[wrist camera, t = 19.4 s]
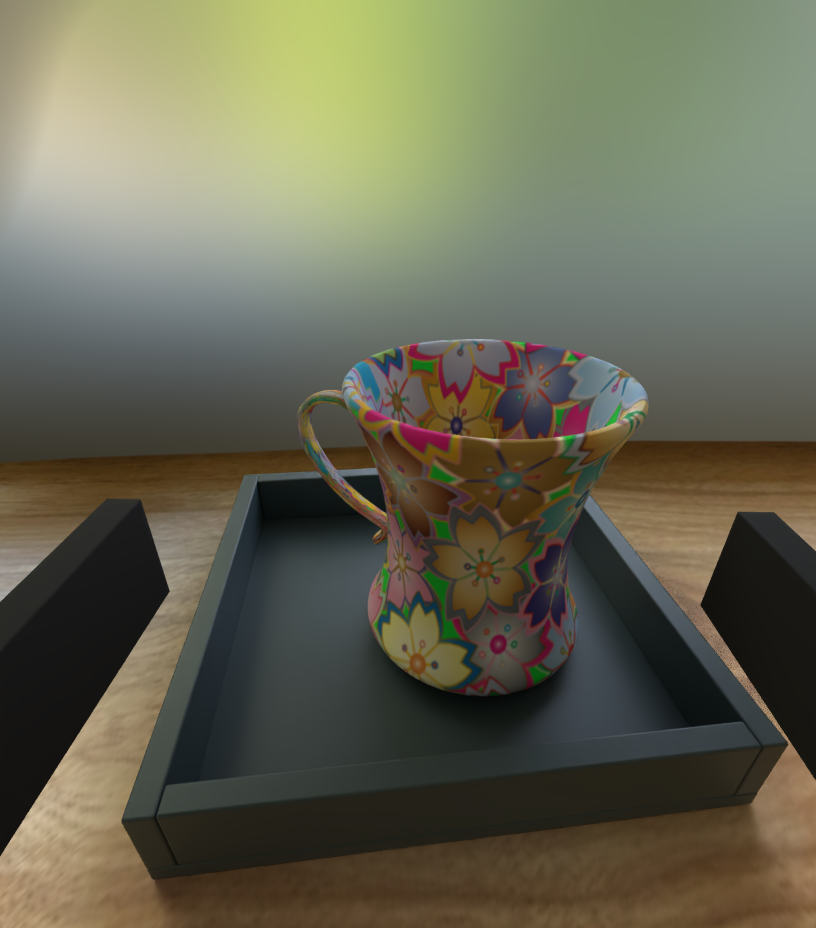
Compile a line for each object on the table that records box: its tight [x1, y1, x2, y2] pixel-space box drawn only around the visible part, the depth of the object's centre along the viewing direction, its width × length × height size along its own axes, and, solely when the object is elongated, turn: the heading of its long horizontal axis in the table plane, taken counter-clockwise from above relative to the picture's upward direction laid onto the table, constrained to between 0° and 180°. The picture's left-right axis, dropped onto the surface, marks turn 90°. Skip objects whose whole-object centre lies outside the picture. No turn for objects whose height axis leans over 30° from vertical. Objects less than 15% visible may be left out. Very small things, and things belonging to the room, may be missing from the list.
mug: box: [297, 339, 649, 696], centre depth 18 cm, size 12×9×11 cm
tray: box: [121, 468, 788, 880], centre depth 21 cm, size 18×17×3 cm
